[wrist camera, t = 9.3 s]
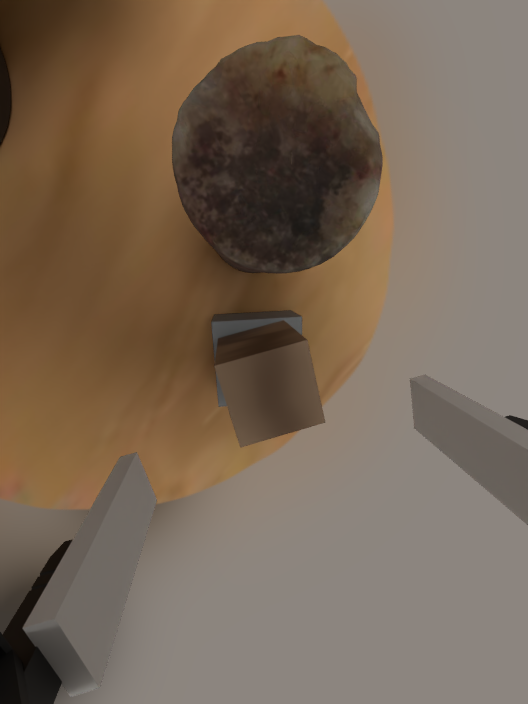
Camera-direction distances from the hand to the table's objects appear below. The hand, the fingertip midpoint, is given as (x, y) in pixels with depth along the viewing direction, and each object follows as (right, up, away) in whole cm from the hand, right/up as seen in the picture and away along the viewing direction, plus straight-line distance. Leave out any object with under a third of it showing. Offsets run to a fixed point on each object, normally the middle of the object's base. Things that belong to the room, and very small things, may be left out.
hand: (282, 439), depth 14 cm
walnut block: (-1, +3, +13) cm, 13 cm away
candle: (-2, +16, +15) cm, 22 cm away
